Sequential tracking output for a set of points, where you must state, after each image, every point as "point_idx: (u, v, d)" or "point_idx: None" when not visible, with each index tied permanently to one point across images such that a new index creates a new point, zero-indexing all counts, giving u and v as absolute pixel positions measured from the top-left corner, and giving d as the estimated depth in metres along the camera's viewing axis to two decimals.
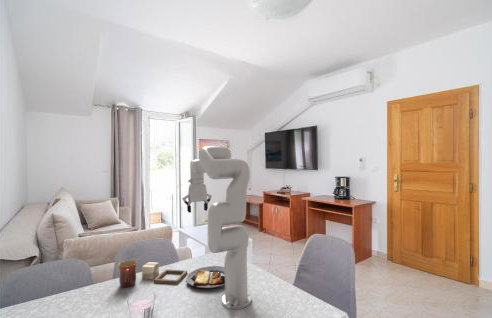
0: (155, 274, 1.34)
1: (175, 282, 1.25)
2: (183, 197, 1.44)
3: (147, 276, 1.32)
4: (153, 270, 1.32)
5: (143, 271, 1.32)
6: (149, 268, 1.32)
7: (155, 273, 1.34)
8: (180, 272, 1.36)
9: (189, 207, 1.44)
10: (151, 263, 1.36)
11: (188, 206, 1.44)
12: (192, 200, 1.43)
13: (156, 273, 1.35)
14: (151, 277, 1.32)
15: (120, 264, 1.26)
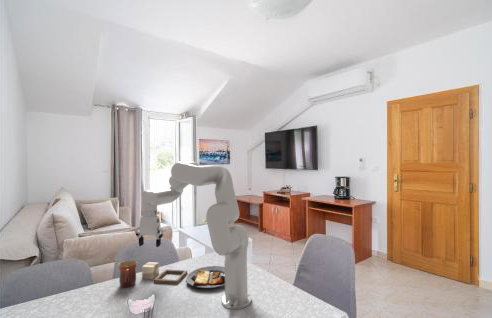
0: (155, 274, 1.34)
1: (175, 282, 1.25)
2: (163, 230, 1.34)
3: (147, 276, 1.32)
4: (153, 270, 1.32)
5: (143, 271, 1.32)
6: (149, 268, 1.32)
7: (155, 273, 1.34)
8: (180, 272, 1.36)
9: None
10: (151, 263, 1.36)
11: (160, 239, 1.35)
12: None
13: (156, 273, 1.35)
14: (151, 277, 1.32)
15: (120, 264, 1.26)
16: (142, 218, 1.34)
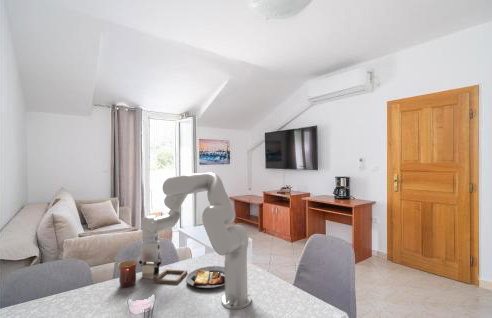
0: None
1: (175, 282, 1.25)
2: (162, 259, 1.33)
3: (147, 276, 1.32)
4: (153, 270, 1.32)
5: (143, 271, 1.32)
6: (149, 268, 1.32)
7: None
8: (180, 272, 1.36)
9: None
10: (151, 263, 1.36)
11: (158, 266, 1.35)
12: None
13: None
14: (151, 277, 1.32)
15: (120, 264, 1.26)
16: (143, 244, 1.33)
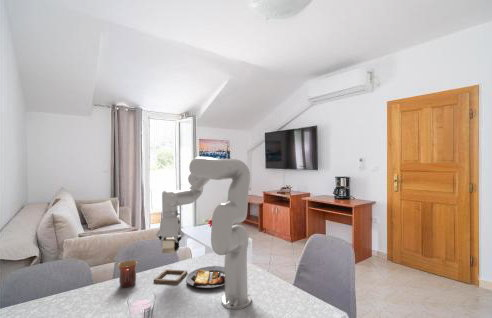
0: None
1: (175, 282, 1.25)
2: (183, 234, 1.31)
3: (167, 251, 1.29)
4: (173, 245, 1.29)
5: (163, 246, 1.30)
6: (170, 243, 1.29)
7: None
8: (180, 272, 1.36)
9: None
10: (171, 238, 1.34)
11: (178, 242, 1.32)
12: None
13: None
14: (171, 252, 1.29)
15: (120, 264, 1.26)
16: (163, 219, 1.31)
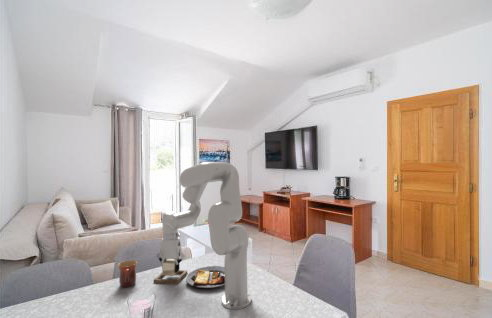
0: None
1: (175, 282, 1.25)
2: (183, 256, 1.30)
3: (168, 273, 1.29)
4: (174, 267, 1.29)
5: (163, 268, 1.29)
6: (170, 265, 1.29)
7: None
8: (180, 272, 1.36)
9: None
10: (171, 260, 1.33)
11: None
12: None
13: None
14: (172, 274, 1.29)
15: (120, 264, 1.26)
16: (163, 241, 1.30)
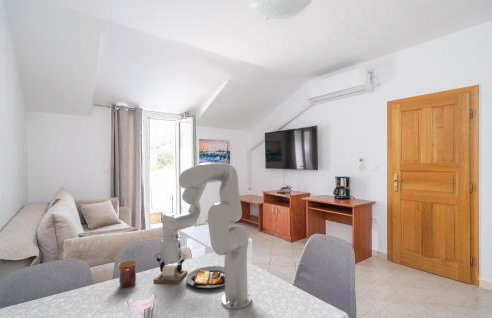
0: (176, 276, 1.31)
1: (175, 282, 1.25)
2: (185, 255, 1.30)
3: (168, 278, 1.29)
4: (174, 272, 1.29)
5: (164, 273, 1.29)
6: (170, 270, 1.29)
7: (176, 275, 1.31)
8: (180, 272, 1.36)
9: None
10: (171, 265, 1.33)
11: (181, 264, 1.32)
12: None
13: (176, 275, 1.32)
14: (172, 279, 1.28)
15: (120, 264, 1.26)
16: (163, 243, 1.30)
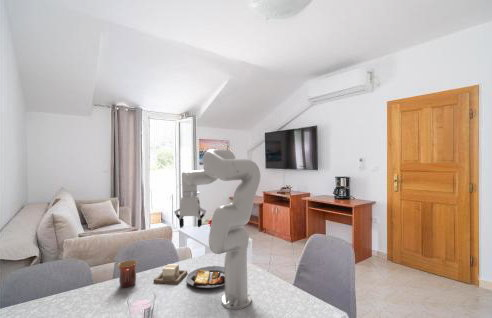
0: (176, 276, 1.31)
1: (175, 282, 1.25)
2: (204, 210, 1.35)
3: (168, 278, 1.29)
4: (174, 272, 1.29)
5: (164, 273, 1.29)
6: (170, 270, 1.29)
7: (176, 275, 1.31)
8: (180, 272, 1.36)
9: None
10: (171, 265, 1.33)
11: (201, 219, 1.36)
12: None
13: (176, 275, 1.32)
14: (172, 279, 1.28)
15: (120, 264, 1.26)
16: (183, 199, 1.35)
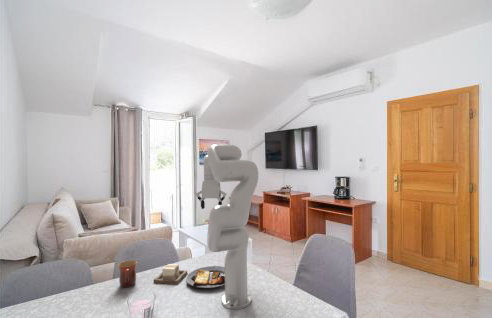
0: (176, 276, 1.31)
1: (175, 282, 1.25)
2: (225, 193, 1.40)
3: (168, 278, 1.29)
4: (174, 272, 1.29)
5: (164, 273, 1.29)
6: (170, 270, 1.29)
7: (176, 275, 1.31)
8: (180, 272, 1.36)
9: None
10: (171, 265, 1.33)
11: (221, 202, 1.42)
12: None
13: (176, 275, 1.32)
14: (172, 279, 1.28)
15: (120, 264, 1.26)
16: (204, 182, 1.40)
